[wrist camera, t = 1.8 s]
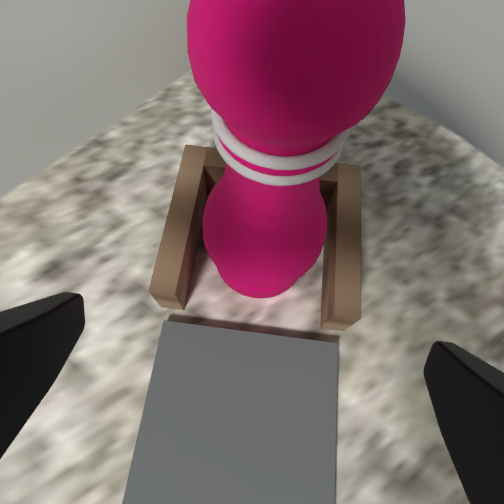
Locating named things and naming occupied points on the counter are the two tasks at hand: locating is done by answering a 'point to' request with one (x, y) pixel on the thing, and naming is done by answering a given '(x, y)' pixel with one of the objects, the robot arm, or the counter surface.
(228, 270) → the pepper mill
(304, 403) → the rubber mat
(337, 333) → the counter surface
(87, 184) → the counter surface
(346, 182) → the walnut cradle
